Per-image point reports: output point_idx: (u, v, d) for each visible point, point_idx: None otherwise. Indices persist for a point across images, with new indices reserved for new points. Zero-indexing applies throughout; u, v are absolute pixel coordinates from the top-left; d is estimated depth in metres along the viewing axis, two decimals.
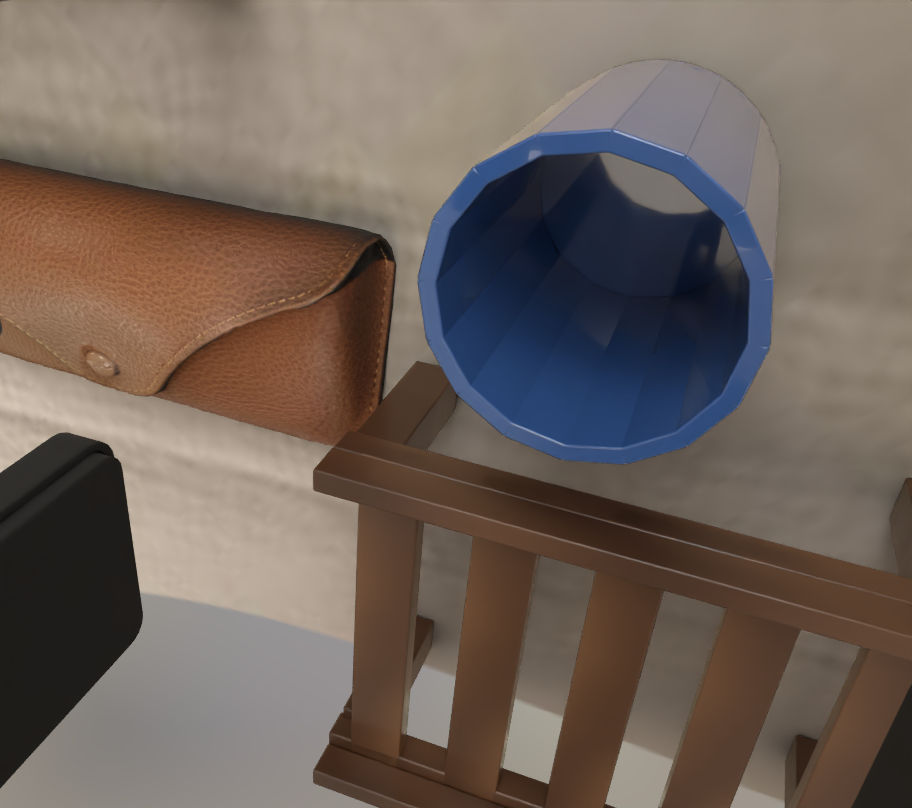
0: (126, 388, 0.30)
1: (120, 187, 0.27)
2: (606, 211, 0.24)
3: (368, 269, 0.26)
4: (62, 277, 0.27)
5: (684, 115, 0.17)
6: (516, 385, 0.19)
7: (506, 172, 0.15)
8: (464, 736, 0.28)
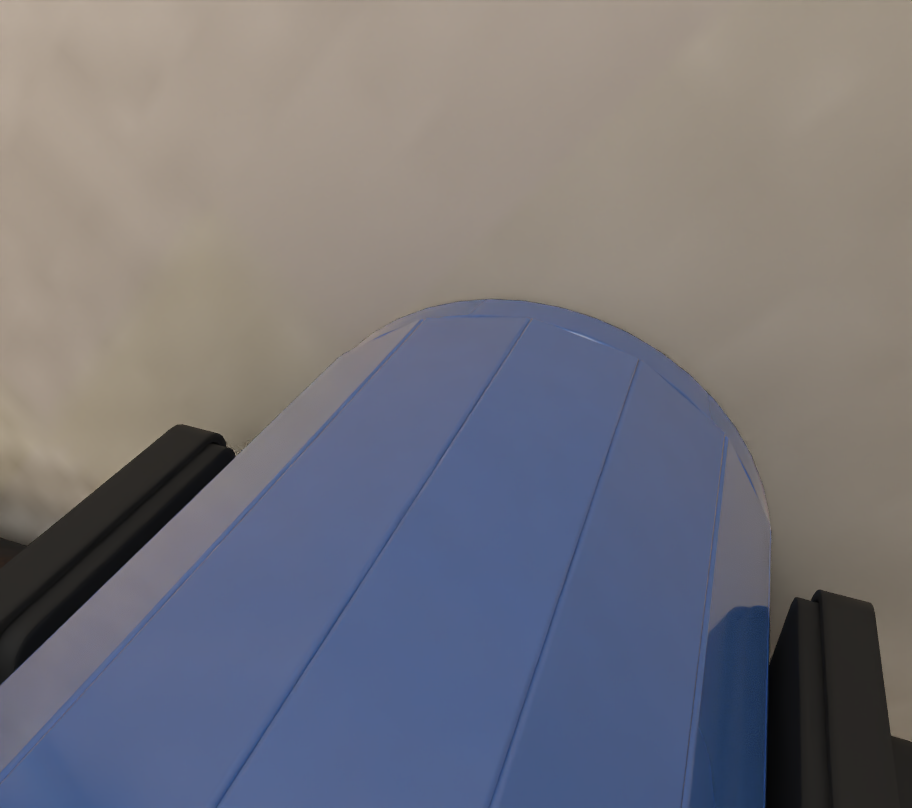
0: None
1: None
2: None
3: None
4: None
5: (454, 724, 0.05)
6: None
7: None
8: None
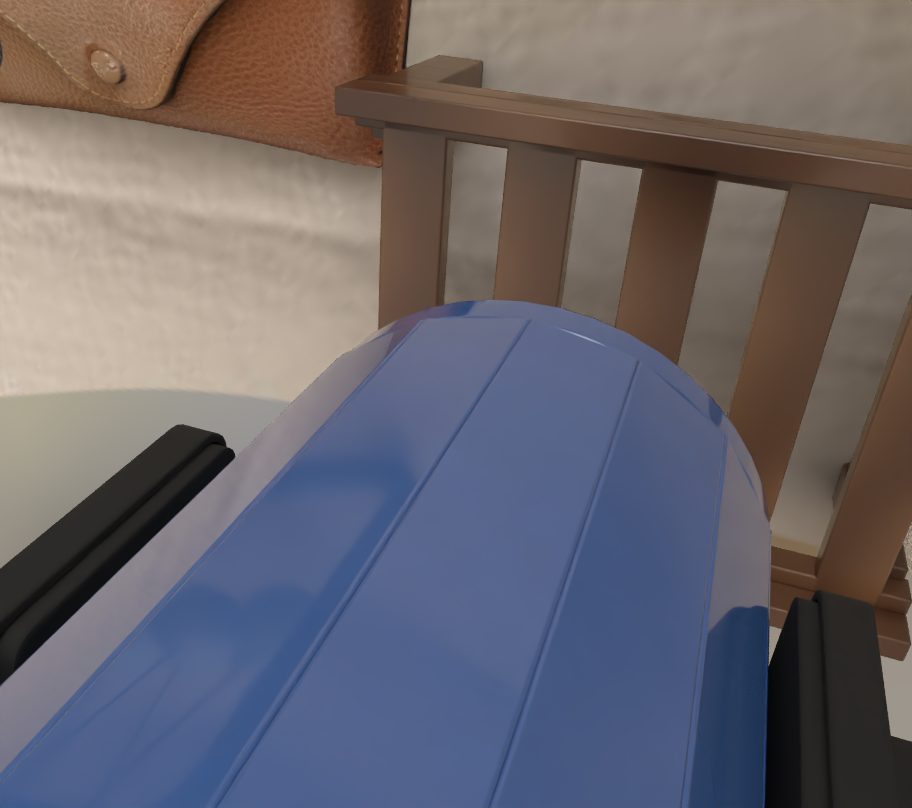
0: (133, 101, 0.28)
1: None
2: None
3: None
4: None
5: (453, 725, 0.05)
6: None
7: None
8: None
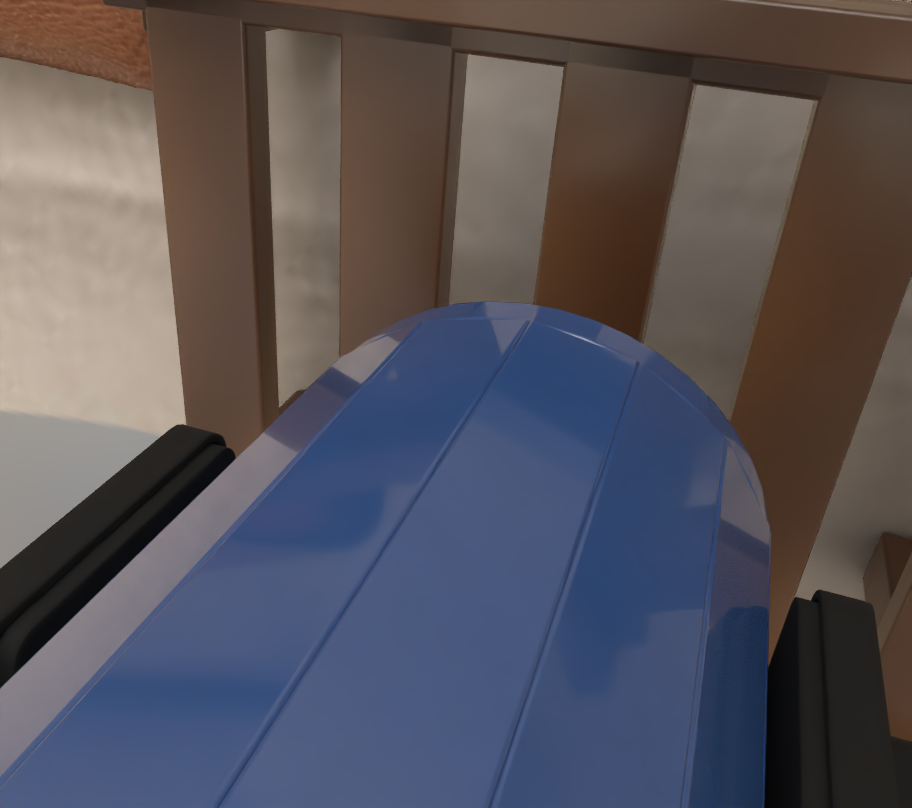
0: None
1: None
2: None
3: None
4: None
5: (453, 728, 0.05)
6: None
7: None
8: None
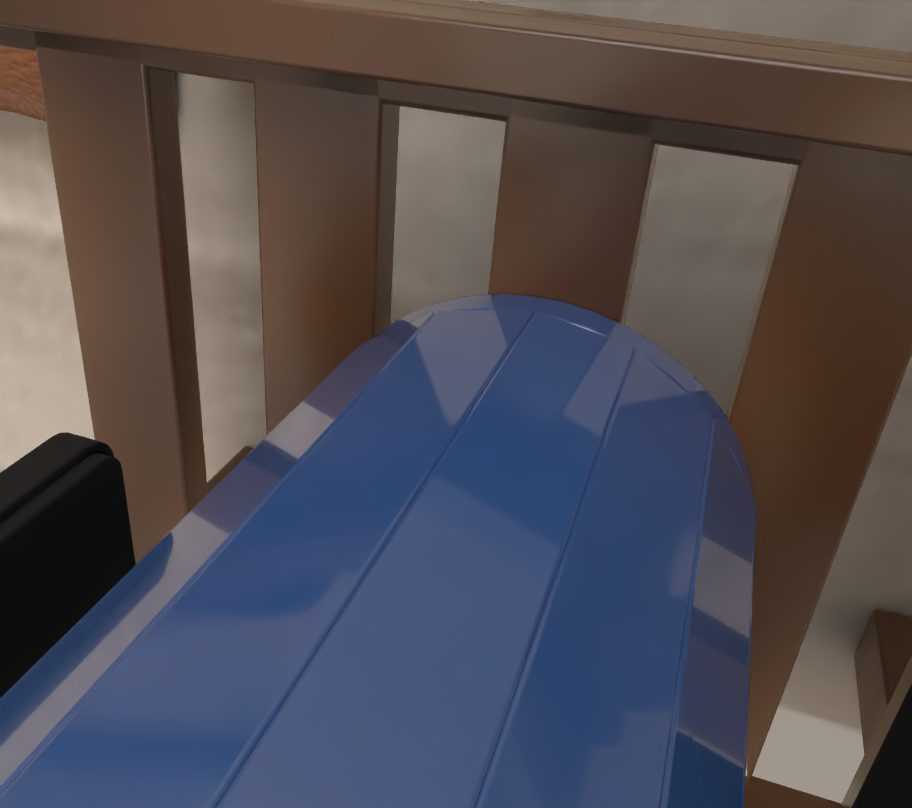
0: None
1: None
2: None
3: None
4: None
5: (476, 647, 0.06)
6: None
7: None
8: None
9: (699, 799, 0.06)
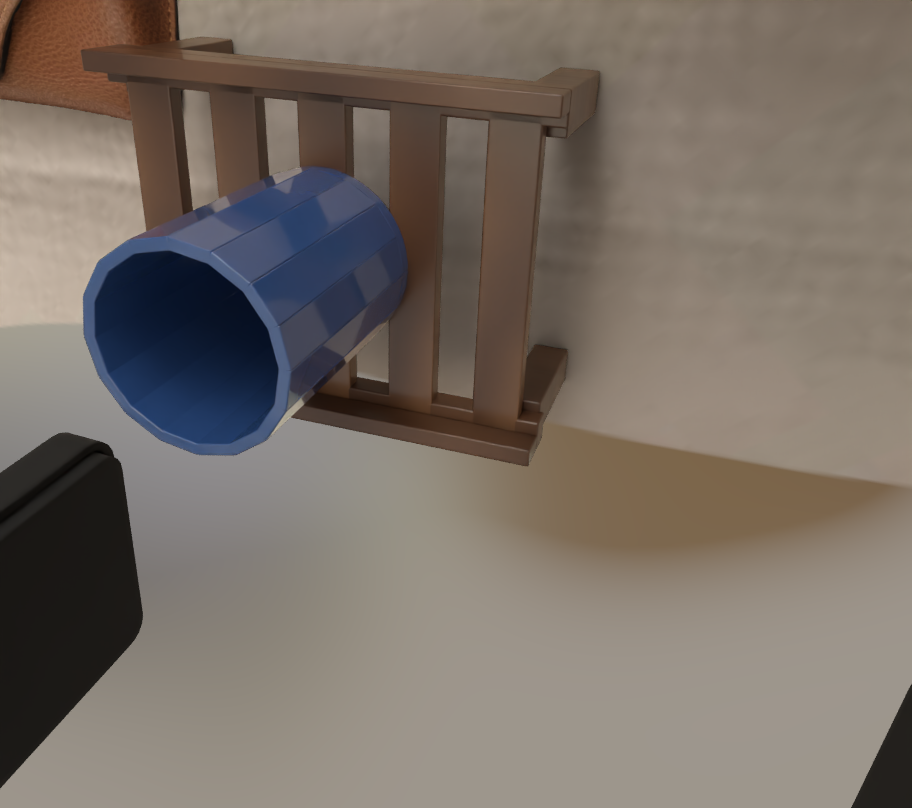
0: None
1: None
2: None
3: None
4: None
5: (254, 218, 0.25)
6: (177, 404, 0.27)
7: (117, 264, 0.24)
8: None
9: (316, 262, 0.25)
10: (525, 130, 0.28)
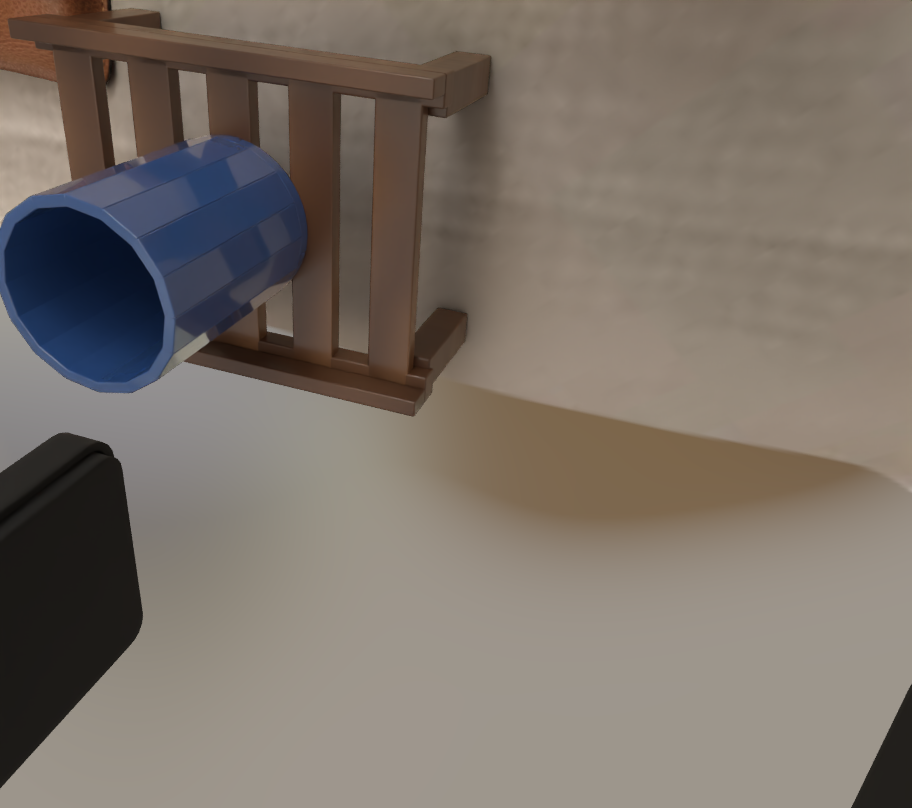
0: None
1: None
2: None
3: None
4: None
5: (150, 180, 0.28)
6: (84, 347, 0.30)
7: (22, 217, 0.27)
8: None
9: (206, 222, 0.28)
10: (407, 109, 0.30)
